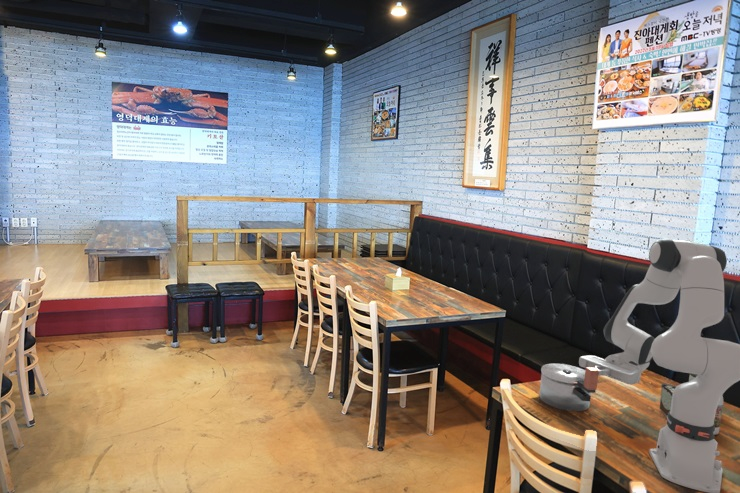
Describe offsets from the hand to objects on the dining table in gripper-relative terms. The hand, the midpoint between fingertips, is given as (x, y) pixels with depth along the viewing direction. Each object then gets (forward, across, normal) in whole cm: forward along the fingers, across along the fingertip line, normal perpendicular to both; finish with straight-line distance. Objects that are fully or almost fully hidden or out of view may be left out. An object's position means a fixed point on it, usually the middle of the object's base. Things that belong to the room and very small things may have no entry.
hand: (595, 372), depth 172 cm
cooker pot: (-2, -11, +17) cm, 20 cm away
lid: (-2, -10, +7) cm, 13 cm away
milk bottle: (-30, +24, +17) cm, 42 cm away
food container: (-32, +13, +17) cm, 38 cm away
